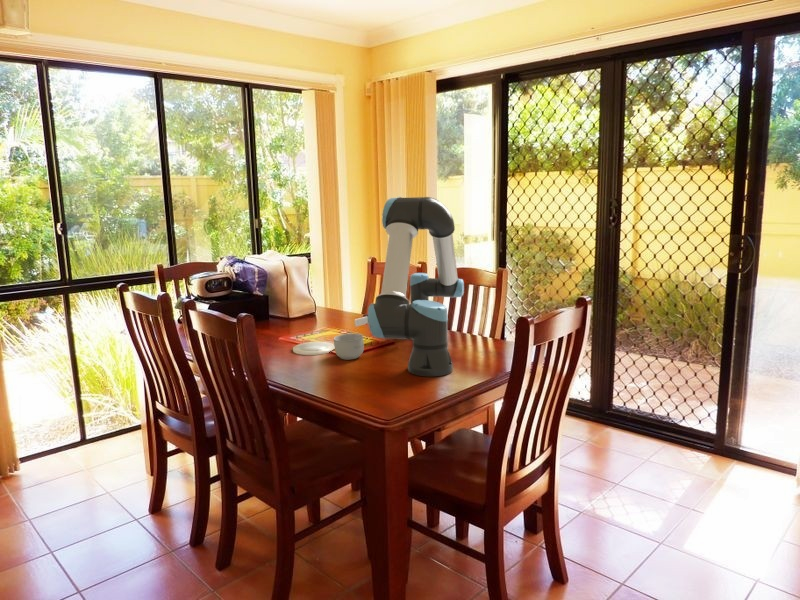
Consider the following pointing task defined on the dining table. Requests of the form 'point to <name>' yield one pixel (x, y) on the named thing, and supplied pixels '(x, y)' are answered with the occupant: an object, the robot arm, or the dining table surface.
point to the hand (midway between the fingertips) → (368, 325)
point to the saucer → (313, 348)
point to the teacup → (349, 345)
